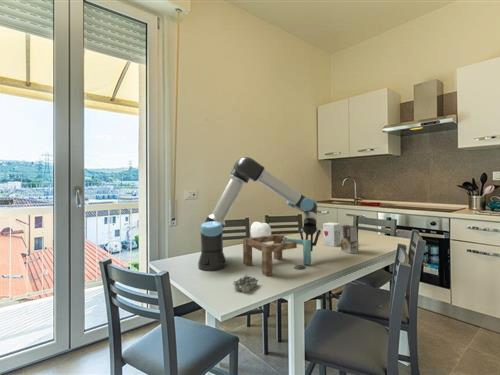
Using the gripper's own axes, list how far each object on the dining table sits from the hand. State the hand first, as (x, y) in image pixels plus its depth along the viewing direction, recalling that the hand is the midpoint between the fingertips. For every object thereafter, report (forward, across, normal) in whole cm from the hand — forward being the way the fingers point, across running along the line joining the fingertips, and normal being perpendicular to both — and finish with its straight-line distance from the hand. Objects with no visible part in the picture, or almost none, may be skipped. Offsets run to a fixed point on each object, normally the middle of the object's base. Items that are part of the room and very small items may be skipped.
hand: (308, 255), depth 151 cm
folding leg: (+3, +6, -1) cm, 7 cm away
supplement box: (-31, -13, -37) cm, 50 cm away
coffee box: (-19, -23, -25) cm, 39 cm away
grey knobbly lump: (+32, +23, +26) cm, 47 cm away
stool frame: (+9, +17, +3) cm, 20 cm away
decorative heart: (-19, +35, -26) cm, 48 cm away
